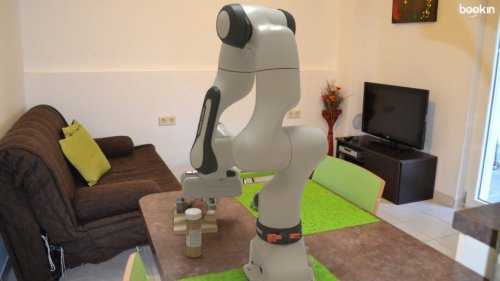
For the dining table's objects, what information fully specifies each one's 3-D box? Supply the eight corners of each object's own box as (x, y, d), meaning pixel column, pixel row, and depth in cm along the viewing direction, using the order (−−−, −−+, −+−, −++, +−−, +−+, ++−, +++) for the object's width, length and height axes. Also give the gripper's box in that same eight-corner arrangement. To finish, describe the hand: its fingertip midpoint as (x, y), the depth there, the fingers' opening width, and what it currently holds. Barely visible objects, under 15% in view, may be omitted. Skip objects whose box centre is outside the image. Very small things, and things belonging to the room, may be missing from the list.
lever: (203, 218, 134) (203, 204, 133) (187, 217, 135) (186, 203, 134) (215, 201, 150) (215, 188, 149) (200, 199, 151) (200, 187, 150)
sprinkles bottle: (186, 250, 117) (185, 207, 114) (202, 250, 117) (201, 207, 114) (185, 258, 113) (184, 214, 109) (202, 258, 113) (201, 213, 110)
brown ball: (193, 209, 141) (193, 200, 140) (183, 210, 141) (182, 200, 140) (193, 205, 145) (192, 196, 144) (182, 206, 144) (182, 197, 143)
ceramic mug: (281, 207, 149) (281, 188, 148) (270, 214, 143) (270, 194, 141) (257, 201, 155) (257, 183, 153) (245, 208, 149) (245, 188, 147)
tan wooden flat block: (221, 231, 129) (221, 216, 128) (173, 235, 126) (173, 219, 125) (215, 204, 151) (215, 191, 150) (174, 206, 149) (174, 193, 147)
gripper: (180, 174, 127) (181, 215, 131) (243, 171, 131) (243, 211, 134) (180, 169, 133) (181, 207, 137) (240, 166, 137) (240, 204, 140)
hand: (212, 209), depth 135 cm, fingers closed
